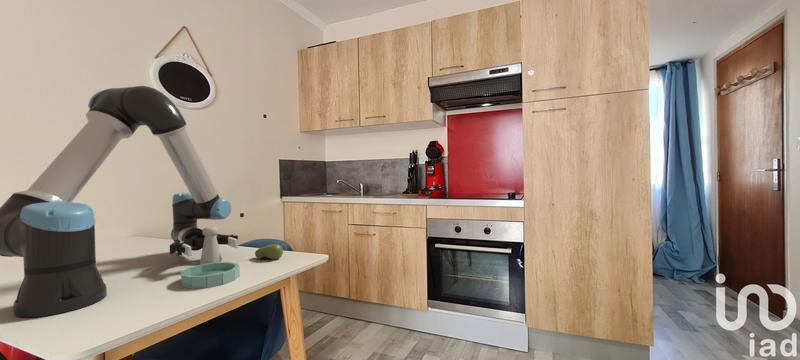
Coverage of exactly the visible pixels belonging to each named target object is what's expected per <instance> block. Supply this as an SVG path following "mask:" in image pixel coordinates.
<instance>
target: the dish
mask: <svg viewBox="0 0 800 360" xmlns="http://www.w3.org/2000/svg"><path fill="white" fill-rule="evenodd" d="M239 277H240V265H239V264H238V263H237V262H231V261H221V262H215V263H208V264H201V263H200V264H197V265H195V266H191V267H188V268H186V269H183V270H182V271H180V284H181V285H180V286H181V287H183V288H187V289H207V288H213V287H218V286H223V285H226V284H228V283H231V282H234V281H236V280H237V279H238V278H239Z"/></svg>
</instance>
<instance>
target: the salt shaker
mask: <svg viewBox="0 0 800 360" xmlns="http://www.w3.org/2000/svg"><path fill="white" fill-rule="evenodd" d="M202 230H203V231H202V232H203V235H205V238H204V244H203V248H202V249H201V256H200V265H201V264H208V263H215V262H223V260H222V254H221V251H220V247H219V244H218V242H217V238H216V234H219V228H218V227H217V226H206V227H203V229H202Z"/></svg>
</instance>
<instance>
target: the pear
mask: <svg viewBox="0 0 800 360" xmlns="http://www.w3.org/2000/svg"><path fill="white" fill-rule="evenodd" d="M283 254H284V249H283V246H282V245H280V244H278V243H272V244H268V245H266V246H261V247H259V248H258V249H256V250H255V252H254V255H255V257H256V260H261V259H264V258H267V259H269V260H271V261H272V260H275V259H276V260H279V259H280V258H281V257H282V256H283Z"/></svg>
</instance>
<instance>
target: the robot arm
mask: <svg viewBox="0 0 800 360" xmlns="http://www.w3.org/2000/svg"><path fill="white" fill-rule="evenodd" d="M88 108H89V110H88V111H87V112H86V114H85V118H86V119H87V123H86V124H85V125H84V126H83V127H82V128H81V129H80V130H79V131H78V133H77V134H76V135H75V136H74V137H73V138H72V139H71V140H70V141H69V142H68V144H67V145H66V146H65V147H64V148H63V149H62V150H61V152H59V154H58V155H57V156H56V157H55V159H53V161H51V163H50V164H49V165H48V166H47V167H46V169H44V171H43V172H42V173H41V174H39V176H38V177H37V178H36V180H35V181H34V182H33V183H32V184H31V185H30V186H29V188H28V189H25V190H23V191H16V192H13V193H12V195H10V197H9V198H8V199H6V201H5V202H4V203H3V204H2V205H1V206H0V257H6V258H7V257H9V258H12V257H19V258H23V274H24V275H23V276H24V277H23V280H22V282H21V284H20V287H19V290H18V291H17V296H16V299H14V302H13V306H12V308H13V309H12V310H13V316H15V317H18V318H36V317H46V316H52V315H58V314H62V313H66V312H71V311H74V310H78V309H82V308H85V307H87V306H90V305H93V304H96V303H98V302H100V301H102V300H103V299H105V297H107V295H108V293H107V291H108V290H107V289H108V288H107V284H106V283H105V282H104V279H103V277H102V275H101V273H100V271H99V268H98V267H97V261H96V260H97V259H96V257H97V256H96V255H97V254H96V233H95V232H96V231H95V230H96V229H95V228H96V227H95V226H96V225H95V224H96V218H95V213H94V210H93V208H92V207H91V206H90V205H88V204H85V203H81V202H80V203H79V202H74V200H75V199H76V198H77V196H79V194H80V193H81V192H82V190H83V189H84V187H85V185H87V183H88V182H89V181H90V179H92V177H93V176H94V175H95V173H96V172H97V171H98V169H99V168H100V167H101V165H103V164H104V161H105V160H106V159H107V158H108V157H109V156H110V154H111V153H112V152H113V151H114V150H115V148H116V147H117V146H118V144H119V142H120V141H121V140H122V139H129V138H131V137H132V136H133V134H134V133H135V132H136V131H137V130H138V128H140V126H146V127H147V128H148V129H149V130H150V132H151V134H152V136H156V137H157V138H159V140H160V142H161V145H163V147H164V149H165V150H166V152H167V154H168V156H169V158H170V160H171V162H172V163H173V165H174V167H175V169H176V170H177V172H178V174H179V176H180V178H181V179H182V182H183V183H184V184H185V186H186V188H187V190H188V191H189V192H181V193H174V194H173V195H172V204H171V206H172V222H173V223H172V229H171V232H170V237H171V240H172V241H173V242H172V243H171V244H169V254H172V255H173V254H175V253H177V254H176V255H177V256H183V254H184V255H186V256H187V257H192V251H194V252H196V251H200V250H202V249H203V244H204V238H205V235H203V232H202V231H203V229H202V228H199V227H198V220H212V221H216V220H217V221H218V220H226V219H227V218H228V217H230V215H231V213H232V205H231V202H230V201H229V200H228V199H227V198H222V197H220V195H219V194H218V191H217V189H216V187H215V186H214V184H213V181H212V180H211V178H210V176H209V173H208V171H207V169H206V167H205V166H204V163H203V162H202V160H201V157H200V156H199V153H198V152H197V150H196V148H195V146H194V143H193V142H192V140H191V138H190V136H189V134H188V132H187V130H186V127H187V125H188V124H187V122H186V119H184V116H183V115H182V112H181V111H180V110H179V108H178V107H177V106H176V104H175V103H174V102H173V101H172V100H171V99H170V98H169V97H168V96H167V95H165V94H164V93H163V92H161V91H160V90H158V89H156V88H153V87H150V86H146V85H136V86H128V87H112V88H106V89H104V90H100V91H97V92H96V93H94V94H93V95H92V96H91V98H90V100H89V101H88ZM216 238H217V242H218V245H228V246H229V247H231V248H234V249H238V248H239V236H238V235H236V234H235V235H234V234H221V233H218V234H216Z"/></svg>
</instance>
